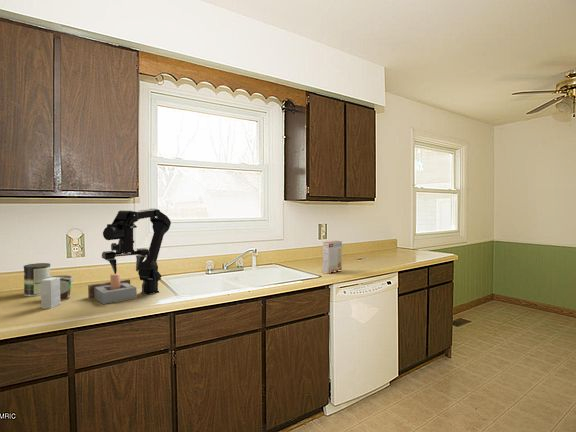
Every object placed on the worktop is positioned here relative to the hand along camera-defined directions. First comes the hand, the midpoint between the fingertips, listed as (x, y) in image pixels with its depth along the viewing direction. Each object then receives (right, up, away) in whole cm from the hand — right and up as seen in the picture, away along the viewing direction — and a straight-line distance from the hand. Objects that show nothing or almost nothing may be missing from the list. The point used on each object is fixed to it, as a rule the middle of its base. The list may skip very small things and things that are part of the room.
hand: (126, 272), depth 146 cm
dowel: (-8, -13, +5) cm, 16 cm away
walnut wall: (-13, -13, +11) cm, 21 cm away
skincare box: (-28, -13, -9) cm, 32 cm away
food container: (-33, -13, +5) cm, 35 cm away
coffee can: (-49, -12, +11) cm, 52 cm away
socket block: (-8, -13, +5) cm, 16 cm away
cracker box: (+103, -13, +74) cm, 127 cm away
